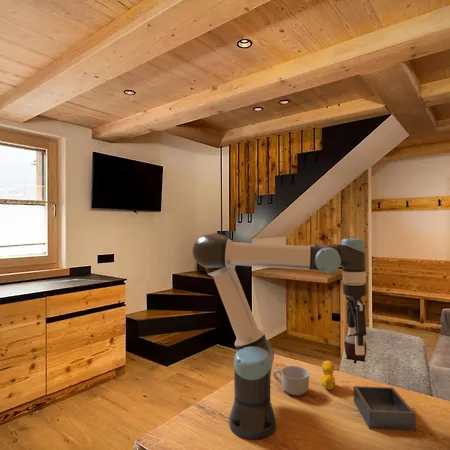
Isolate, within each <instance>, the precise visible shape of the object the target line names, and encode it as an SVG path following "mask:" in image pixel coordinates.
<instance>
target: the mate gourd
mask: <svg viewBox="0 0 450 450" xmlns="http://www.w3.org/2000/svg"><path fill="white" fill-rule="evenodd" d="M365 321H366V323H367V322H368V319H367V320H366V319H365ZM343 345H344V352H345V355H346V357H345V359H346V360H350V361H353V364H357V362H362V363H363V362H365V363H366V356H367V342H366V339H365V338H364V350H365V355H356V352H355V336H354V334H351V335H349V334H347V335H346V337H345V339H344V344H343Z"/></svg>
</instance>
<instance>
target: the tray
mask: <svg viewBox="0 0 450 450" xmlns="http://www.w3.org/2000/svg"><path fill="white" fill-rule="evenodd" d="M353 402H354V405H355V407H356V408H357V409H358V411H359V413H360V415H361V417H362V419H363V421H364V422H365V423H366V425H367V428H368V429H369V430H383V431H384V430H385V431H387V430H388V431H404V432H405V431H406V432H416V412H415V411H414V410H413V409H412V408H411V407H410V405H408V403H407V402H406V401H405V400H404V398H403V397H401V395H400V393H399V392H398V391H397V390H396V389H395V388H394V387H388V386H387V387H386V386H385V387H383V386H361V385H360V386H359V385H353Z"/></svg>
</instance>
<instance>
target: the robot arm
mask: <svg viewBox="0 0 450 450" xmlns="http://www.w3.org/2000/svg"><path fill="white" fill-rule="evenodd" d="M365 244H366V243H365V241H364V239H363V238H354V237H353V238H351V237H350V238H343V239H341V242H340V244H311V245H295V244H294V245H292V244H291V245H290V244H272V243H258V242H256V243H255V242H253V243H252V242H239V241H238V242H237V241H232V239H231V238H228V237H227V236H226V235H224V234H222V233H217V232H216V233H215V232H214V233H207V234H203V235H201V236H199V237H198V238H197V239H196V240H195V241H194V244H193V246H192V257H193V259H194V261H195V262H196V263H197V264H198V265H200V266H201V267H203V268H205V271H206V274H207V275H208V276H211V277H212V278H213V279H214V280H213V281H214V284H215V285H216V288H217V290H218V293H219V297H220V299H221V301H222V304H223V306H224V309H225V311H226V314H227V317H228V320H229V322H230V325H231V328H232V330H233V332H234V334H235V337H236V339H235V342H234V346H235V349H236V353H235V354H234V360H233V368H234V369H233V372H234V376H233V377H234V381H233V382H234V389H233V390H234V400H233V401H234V402H233V404H232V406H231V411H230V413H229V416H228V417H229V419H228V423H229V424H228V426H229V429H230V430H231V432H232V433H234V435H236V436H238V437H241V438H243V439H248V440H261V439H265V438H267V437H270V436H271V435H273V434H274V432H275V431H276V428H277V418H276V415H275V412H274V411H275V410H274V408H273V405H272V402H271V377H272V376H271V374H272V369H273V363H274V359H275V354H274V348H273V346H272V343H270V341H269V340H268V339H267V337H266V335H265V332H264V331H263V330H260V329H259V328H258V325H257V323H256V320H255V318H254V315H253V312H252V310H251V308H250V305H249V302H248V299H247V297H246V294H245V291H244V290H243V289H244V288H243V286H242V284H241V282H240V279H239V277H238V274H237V272H236V266H243V267H256V268H257V267H259V268H274V269H275V268H276V269H289V270H290V269H291V270H292V269H293V270H308V271H309V270H310V271H317V272H318V271H319V272H322V273H328V274H329V273H334V272H336V271H337V270H338V269H339V268H340V267H342V283H343V284H342V292H343V294H344V295H345V296H346V298H345V300H346V324H347V326H348V335H351V334H354V336H355V352H356V355H365V350H364V339H365V336H367V325H366V324H367V322H366V305H365V304H364V303H363V301H362V297H366V295H367V293H368V291H367V290H368V289H367V284H366V282H367V276H368V273H367V272H366V267H367V266H366V253H367V251H366V245H365Z"/></svg>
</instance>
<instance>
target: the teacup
mask: <svg viewBox="0 0 450 450" xmlns="http://www.w3.org/2000/svg"><path fill="white" fill-rule="evenodd" d="M277 373H278V374H279V376H280V377H281V378H279V377H278V376H277ZM272 375H273V378H274V379H275V380H276V381H277V382H278V383H279V384H280V385H281V386H282V388H283V390H284V391H285V392H286V393H287V394H289V395H291V396H297V397H298V396H302V395H304V394H305V393H306V392H308V390H309V385H310V371H309V370H307V369H306V368H305V367H303V366H299V365H288V366H285V367H283V368H282V369H279V368H276V369H274V370H273V374H272Z"/></svg>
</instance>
